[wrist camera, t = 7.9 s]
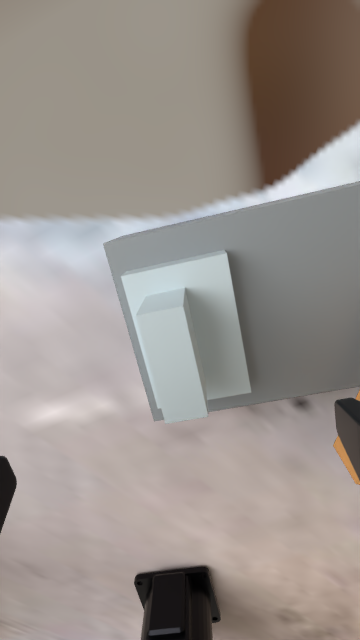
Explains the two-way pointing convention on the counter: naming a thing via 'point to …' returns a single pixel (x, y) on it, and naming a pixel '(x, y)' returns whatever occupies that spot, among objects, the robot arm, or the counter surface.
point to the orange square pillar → (344, 456)
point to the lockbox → (272, 289)
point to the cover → (188, 333)
